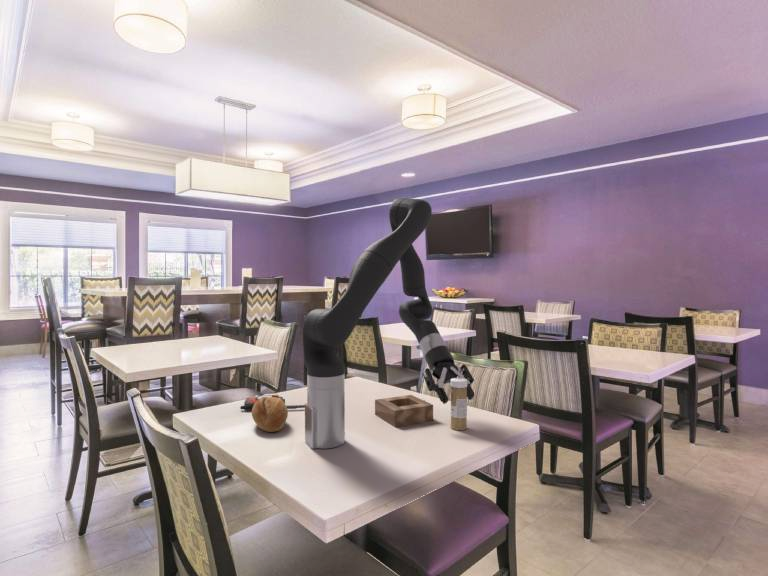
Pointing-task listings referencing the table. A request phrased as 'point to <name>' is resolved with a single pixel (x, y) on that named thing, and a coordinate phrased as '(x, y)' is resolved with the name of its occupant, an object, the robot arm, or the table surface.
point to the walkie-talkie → (251, 401)
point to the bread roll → (270, 413)
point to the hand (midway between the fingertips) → (459, 400)
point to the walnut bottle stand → (403, 410)
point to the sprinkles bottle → (458, 403)
